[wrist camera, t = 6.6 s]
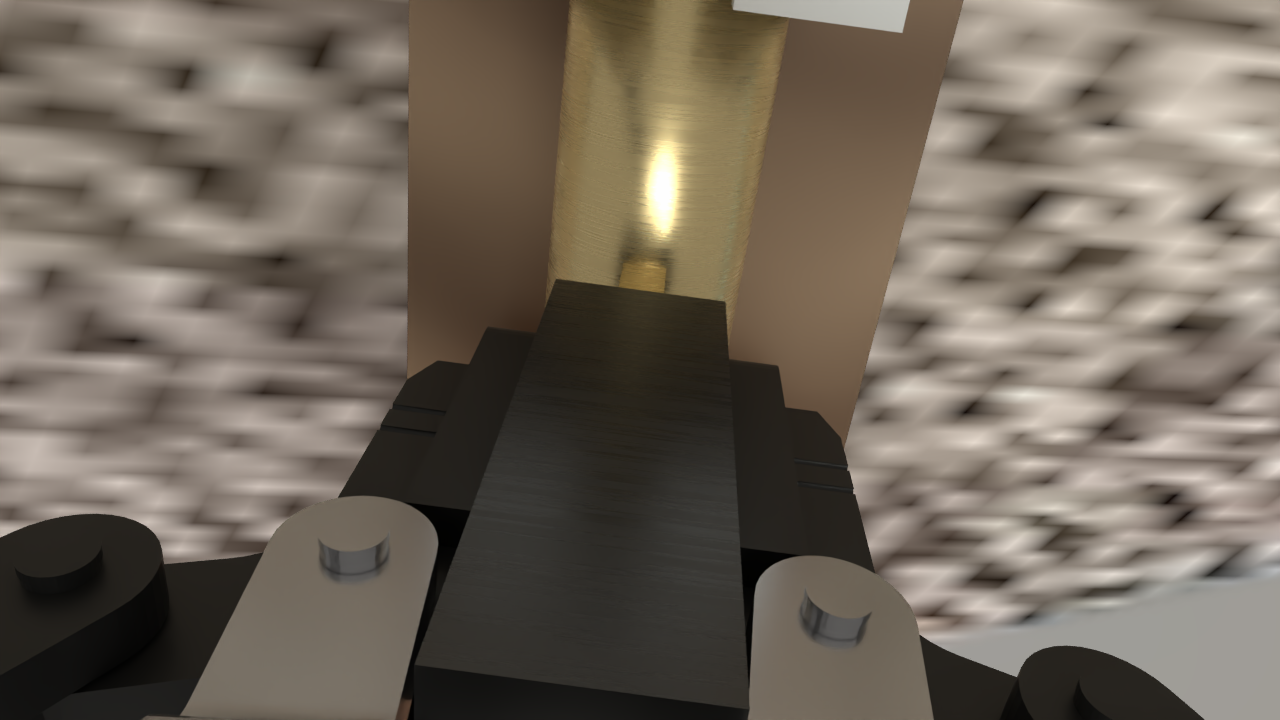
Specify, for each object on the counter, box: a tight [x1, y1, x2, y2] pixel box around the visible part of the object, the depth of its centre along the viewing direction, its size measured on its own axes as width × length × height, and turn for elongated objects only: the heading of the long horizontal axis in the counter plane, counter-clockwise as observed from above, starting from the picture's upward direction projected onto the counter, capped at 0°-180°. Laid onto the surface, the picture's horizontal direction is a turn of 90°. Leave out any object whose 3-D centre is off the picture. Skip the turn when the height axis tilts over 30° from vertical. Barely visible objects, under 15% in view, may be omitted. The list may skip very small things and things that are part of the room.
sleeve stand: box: [407, 0, 963, 448], centre depth 14 cm, size 25×10×8 cm, turn 173°
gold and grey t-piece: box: [414, 0, 790, 720], centre depth 11 cm, size 13×3×11 cm, turn 173°
